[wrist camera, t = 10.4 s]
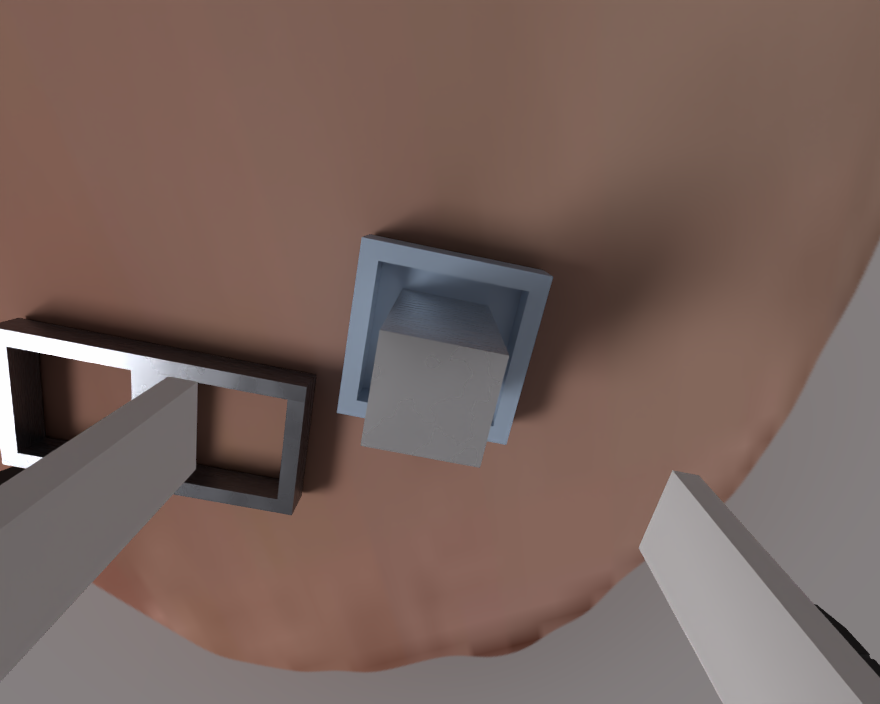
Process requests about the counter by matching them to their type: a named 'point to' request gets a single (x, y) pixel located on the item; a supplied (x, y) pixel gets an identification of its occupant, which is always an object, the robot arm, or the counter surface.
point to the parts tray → (449, 275)
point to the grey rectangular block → (435, 379)
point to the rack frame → (20, 396)
